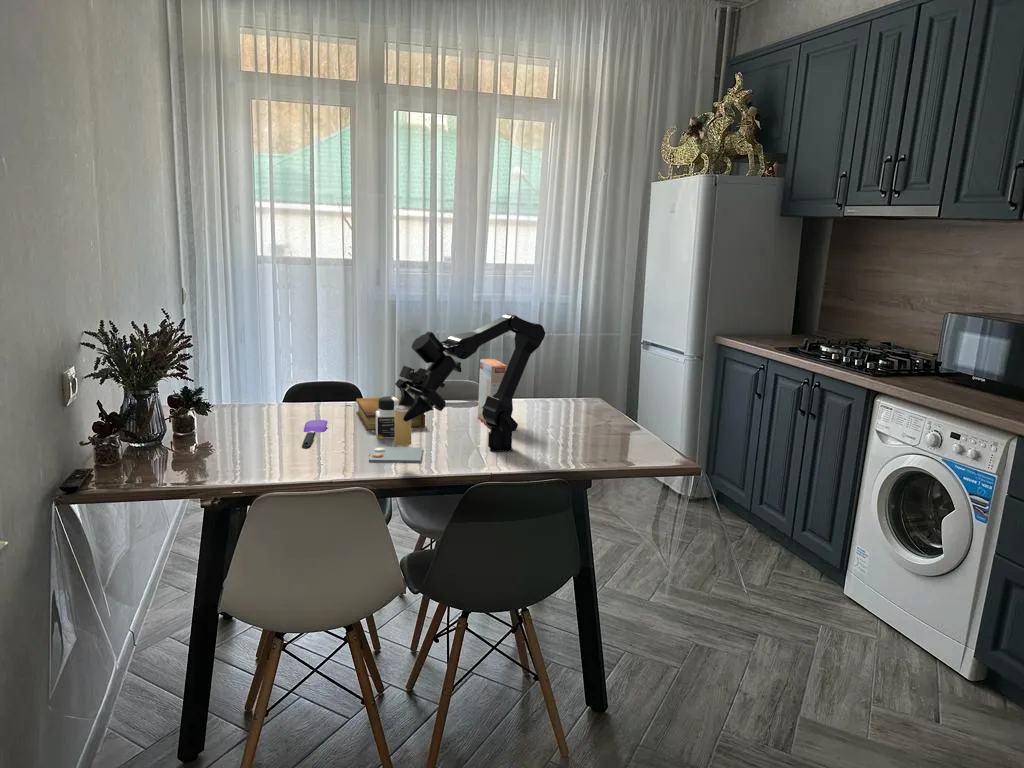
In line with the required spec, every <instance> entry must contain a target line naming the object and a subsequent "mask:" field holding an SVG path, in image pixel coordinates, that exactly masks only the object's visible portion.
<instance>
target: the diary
mask: <svg viewBox="0 0 1024 768" xmlns="http://www.w3.org/2000/svg"><path fill="white" fill-rule="evenodd" d="M394 397H395V398H397V399H398V400H399V401H398V405H399V402H400V400H401V396H394ZM380 398H381V397H363V398H355V399H356V403H357V408H358V409H357V411H356V413H355V414H356V415H357V417H358V419H359V420H360V421H361V423H362V425H363V426H364V428H365V430H366V431H367V432H373V431H375V432H376V411H379V410H378V406H379V399H380ZM425 427H426V414H425V413H423V414H421V415H419V416H417V417H415V418H413V419H411V430H412V428H413V429H424V428H425Z"/></svg>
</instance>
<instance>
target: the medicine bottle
mask: <svg viewBox="0 0 1024 768" xmlns="http://www.w3.org/2000/svg"><path fill="white" fill-rule="evenodd" d="M395 397H396V396H382V397H379V398H380V399H379V406H378V410H379V411H376V431H375V434H376V437H377V439H380V440H381V439H395V411H394V407H395V406H398V401H399V400H398V399H397V398H395Z"/></svg>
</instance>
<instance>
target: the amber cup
mask: <svg viewBox="0 0 1024 768" xmlns="http://www.w3.org/2000/svg"><path fill="white" fill-rule="evenodd" d="M410 407H411V406H406V405H400V406H395V407H394V411H395V438H394V445H395V446H396V447H407V446H408V447H409V446H411V445H412V429H411V420H409V421H407V422H405V421H404V420H403V418H404V416H405V415H406V413H407V412H408V410H409V409H410Z"/></svg>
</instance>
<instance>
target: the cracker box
mask: <svg viewBox="0 0 1024 768" xmlns="http://www.w3.org/2000/svg"><path fill="white" fill-rule="evenodd" d="M507 367H508V365H506V364H505V363H503V362H501V361H499V360H498V359H496V358H481V359H480V360H479V381H478V383H479V384H478V403H477V404H478V405H477V418H478V420H479V421H481V422H482V423H483V424H484V425H485V426H486V427H488V428H489V429H491V427H490V426H487V424H486V421H485V419H484V418H483V415H482V412H483V408H482V407H483V406H484V404H485V402H486V398H487V396H491V397H492V396H494V395H495V394H496V393H497V391H498V388H499V386H500V384H501V381H502V379H503V376H504V374H505V372H506V369H507Z"/></svg>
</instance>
